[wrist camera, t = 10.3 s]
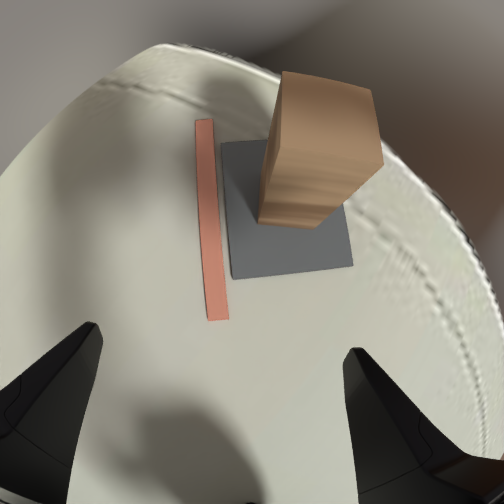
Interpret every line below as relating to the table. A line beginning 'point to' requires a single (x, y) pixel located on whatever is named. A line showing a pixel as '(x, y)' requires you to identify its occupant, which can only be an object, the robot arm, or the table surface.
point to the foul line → (210, 223)
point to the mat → (273, 237)
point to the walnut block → (316, 150)
